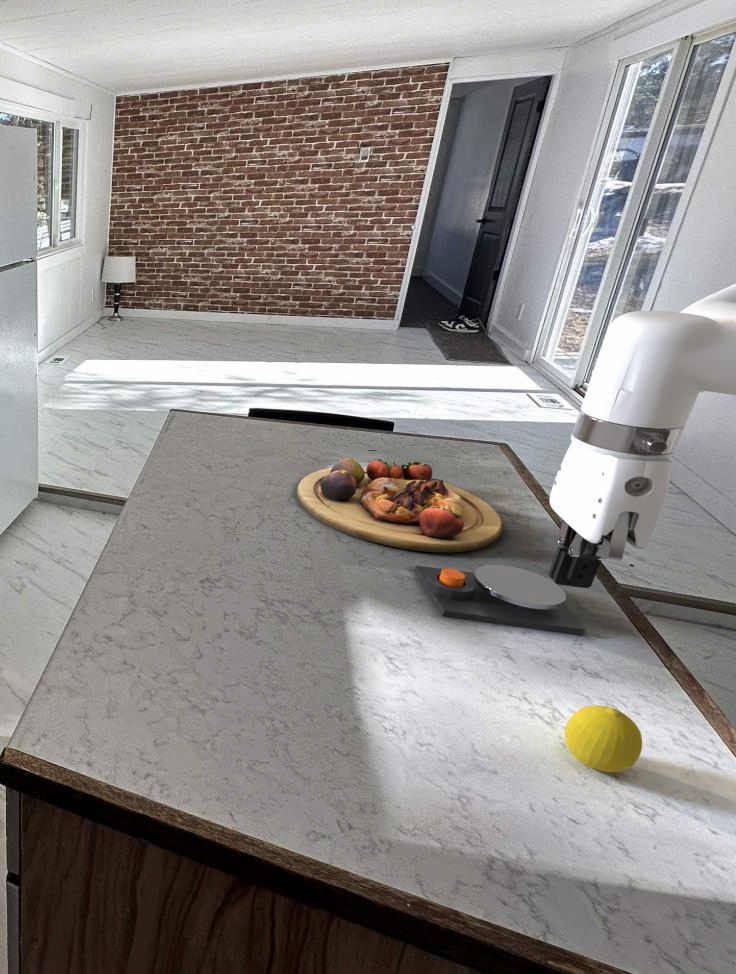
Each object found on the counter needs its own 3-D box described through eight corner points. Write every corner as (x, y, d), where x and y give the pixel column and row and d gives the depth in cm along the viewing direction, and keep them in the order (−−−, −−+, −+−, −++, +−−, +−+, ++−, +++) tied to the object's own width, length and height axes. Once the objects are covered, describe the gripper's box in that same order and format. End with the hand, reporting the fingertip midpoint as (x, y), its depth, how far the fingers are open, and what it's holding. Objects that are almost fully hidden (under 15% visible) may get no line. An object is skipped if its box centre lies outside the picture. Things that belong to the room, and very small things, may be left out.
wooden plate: (536, 568, 102) (553, 523, 99) (312, 543, 112) (321, 501, 109) (458, 483, 130) (468, 446, 127) (284, 469, 140) (290, 434, 137)
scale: (536, 590, 97) (543, 571, 96) (580, 641, 87) (589, 619, 85) (410, 575, 102) (415, 556, 101) (437, 620, 92) (443, 600, 91)
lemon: (632, 771, 68) (660, 714, 65) (617, 798, 65) (646, 740, 62) (563, 737, 72) (587, 682, 70) (547, 762, 70) (571, 706, 67)
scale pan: (542, 574, 95) (544, 569, 95) (580, 614, 86) (582, 609, 86) (462, 565, 98) (463, 560, 98) (490, 603, 90) (492, 598, 89)
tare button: (458, 578, 96) (461, 569, 95) (465, 589, 93) (468, 580, 93) (436, 575, 97) (438, 567, 96) (443, 586, 94) (445, 577, 94)
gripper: (725, 465, 58) (652, 629, 65) (629, 412, 71) (576, 553, 78) (619, 457, 61) (559, 615, 68) (544, 407, 74) (500, 544, 81)
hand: (568, 582), depth 73 cm, fingers closed
